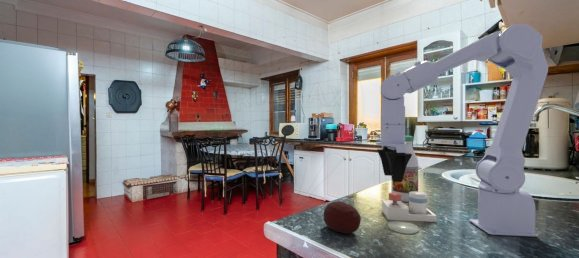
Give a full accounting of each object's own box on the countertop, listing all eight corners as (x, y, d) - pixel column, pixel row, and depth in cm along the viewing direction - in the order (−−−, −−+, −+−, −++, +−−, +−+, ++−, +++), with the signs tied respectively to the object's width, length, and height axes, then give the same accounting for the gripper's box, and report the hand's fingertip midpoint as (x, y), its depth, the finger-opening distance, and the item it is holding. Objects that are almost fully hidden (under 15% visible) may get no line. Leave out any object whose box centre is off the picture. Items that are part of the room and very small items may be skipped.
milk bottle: (386, 196, 84) (386, 135, 84) (405, 195, 86) (406, 135, 86) (403, 203, 77) (403, 136, 76) (424, 201, 79) (424, 136, 79)
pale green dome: (412, 223, 62) (412, 221, 62) (423, 234, 55) (423, 232, 55) (384, 222, 62) (384, 220, 62) (392, 233, 56) (392, 231, 56)
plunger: (399, 207, 68) (399, 192, 68) (402, 210, 65) (402, 195, 65) (387, 206, 68) (387, 192, 68) (390, 210, 65) (390, 195, 65)
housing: (425, 212, 69) (425, 201, 69) (436, 221, 63) (436, 209, 62) (382, 211, 70) (382, 200, 70) (388, 219, 64) (388, 207, 64)
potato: (341, 220, 64) (341, 195, 64) (370, 236, 54) (370, 207, 54) (315, 225, 61) (315, 199, 61) (341, 243, 51) (341, 212, 51)
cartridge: (422, 214, 68) (423, 191, 68) (429, 220, 64) (429, 195, 64) (406, 213, 68) (406, 191, 68) (411, 219, 64) (412, 195, 64)
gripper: (370, 124, 73) (370, 172, 74) (383, 125, 59) (383, 184, 59) (396, 124, 73) (396, 173, 73) (416, 124, 58) (416, 185, 58)
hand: (392, 178), depth 66 cm, fingers open, 7 cm apart
